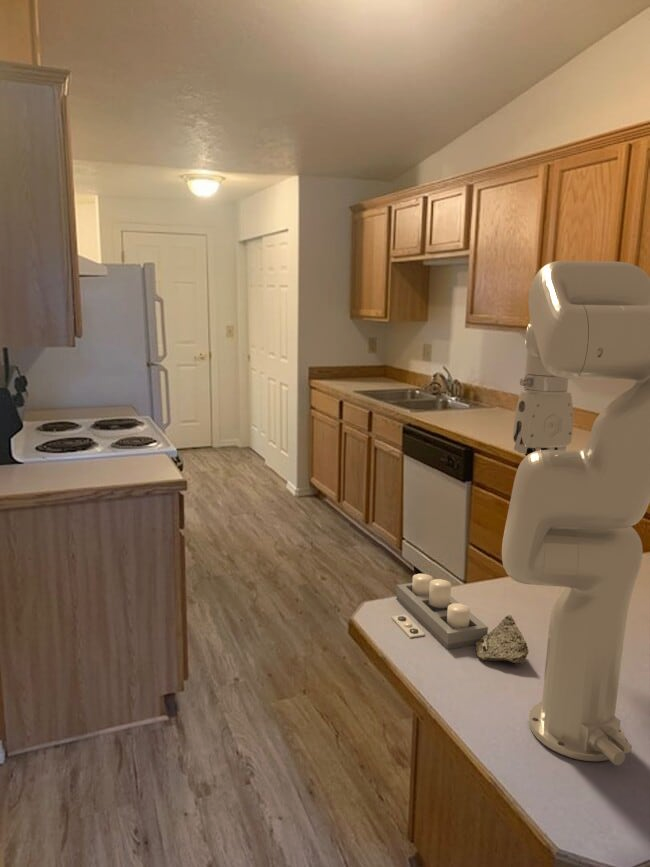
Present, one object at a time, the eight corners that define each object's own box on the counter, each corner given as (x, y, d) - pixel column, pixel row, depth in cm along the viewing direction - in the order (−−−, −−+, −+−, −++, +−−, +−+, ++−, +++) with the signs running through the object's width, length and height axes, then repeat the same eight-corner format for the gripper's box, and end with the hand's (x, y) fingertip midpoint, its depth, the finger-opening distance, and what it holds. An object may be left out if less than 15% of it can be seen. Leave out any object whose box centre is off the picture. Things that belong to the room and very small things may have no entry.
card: (424, 635, 118) (425, 633, 118) (410, 638, 117) (410, 635, 117) (405, 615, 125) (405, 613, 125) (391, 618, 124) (391, 615, 124)
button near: (473, 632, 116) (474, 611, 115) (453, 635, 115) (454, 614, 114) (461, 622, 120) (462, 602, 119) (442, 625, 118) (443, 605, 118)
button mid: (453, 606, 122) (455, 586, 121) (435, 609, 121) (436, 589, 120) (443, 597, 126) (444, 578, 125) (425, 600, 125) (426, 580, 124)
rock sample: (458, 623, 114) (499, 598, 112) (479, 640, 118) (520, 616, 116) (478, 676, 106) (523, 650, 104) (500, 691, 110) (544, 667, 108)
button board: (486, 642, 116) (487, 627, 115) (447, 649, 113) (448, 633, 112) (430, 593, 135) (431, 580, 134) (396, 598, 132) (396, 584, 132)
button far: (435, 599, 129) (436, 580, 128) (417, 601, 128) (418, 582, 127) (426, 591, 133) (427, 572, 132) (408, 593, 131) (409, 574, 131)
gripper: (523, 387, 111) (515, 490, 115) (593, 386, 116) (584, 484, 120) (498, 382, 118) (491, 479, 122) (565, 381, 123) (557, 474, 127)
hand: (537, 482), depth 121 cm, fingers closed
